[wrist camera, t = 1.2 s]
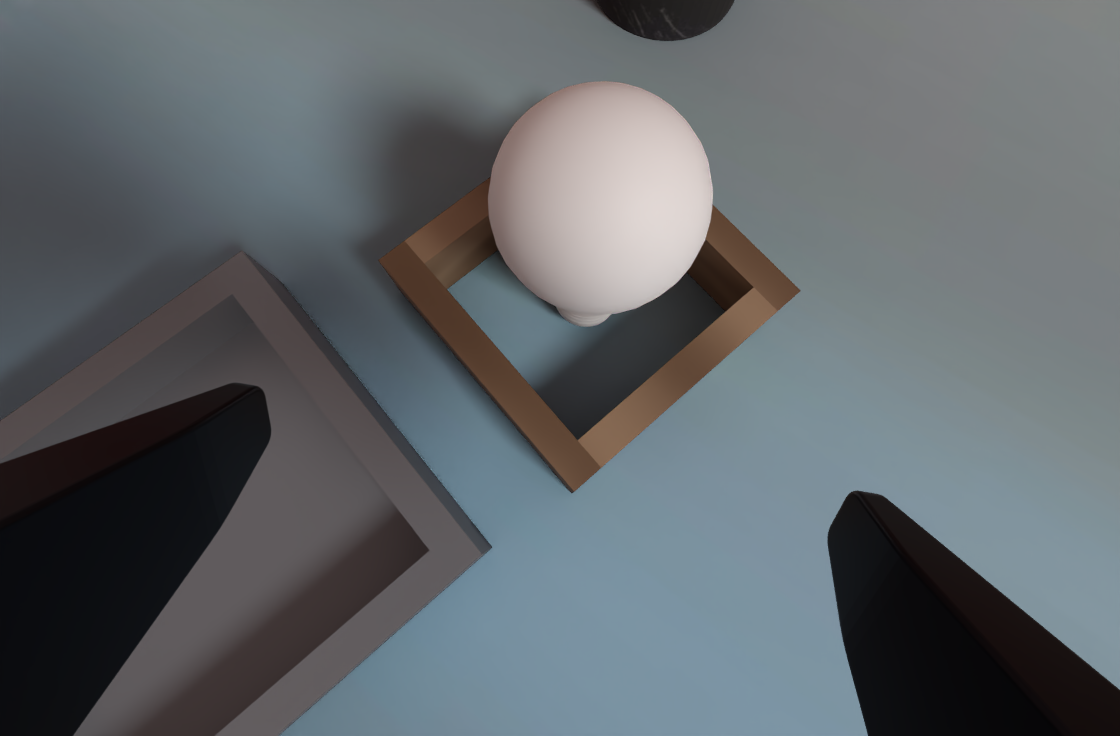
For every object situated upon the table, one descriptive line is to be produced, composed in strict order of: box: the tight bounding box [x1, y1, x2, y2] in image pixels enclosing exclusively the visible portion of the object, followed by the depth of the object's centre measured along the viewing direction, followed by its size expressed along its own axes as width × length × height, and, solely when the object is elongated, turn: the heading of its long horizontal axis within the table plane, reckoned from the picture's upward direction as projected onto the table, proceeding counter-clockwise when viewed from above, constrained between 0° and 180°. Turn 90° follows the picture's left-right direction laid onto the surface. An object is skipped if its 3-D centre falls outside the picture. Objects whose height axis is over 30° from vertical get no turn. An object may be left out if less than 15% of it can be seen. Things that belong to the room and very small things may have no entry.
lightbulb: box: [488, 81, 713, 327], centre depth 18 cm, size 6×6×11 cm
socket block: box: [378, 177, 800, 493], centre depth 22 cm, size 11×11×3 cm
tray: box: [0, 251, 492, 736], centre depth 19 cm, size 16×14×3 cm
